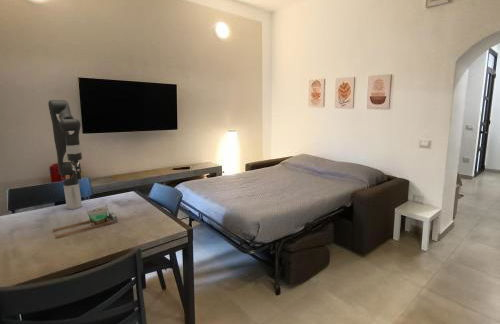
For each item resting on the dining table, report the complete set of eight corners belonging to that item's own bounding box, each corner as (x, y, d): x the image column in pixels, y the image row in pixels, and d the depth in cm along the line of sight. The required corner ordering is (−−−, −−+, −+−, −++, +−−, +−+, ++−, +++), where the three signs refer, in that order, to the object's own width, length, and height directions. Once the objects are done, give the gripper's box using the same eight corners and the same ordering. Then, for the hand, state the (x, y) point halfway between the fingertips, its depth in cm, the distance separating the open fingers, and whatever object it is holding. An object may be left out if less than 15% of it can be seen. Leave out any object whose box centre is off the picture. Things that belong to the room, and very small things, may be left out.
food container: (93, 228, 169) (91, 213, 167) (88, 226, 173) (86, 210, 171) (113, 221, 179) (111, 206, 177) (108, 219, 183) (106, 204, 180)
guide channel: (53, 231, 166) (51, 225, 165) (112, 216, 187) (111, 211, 186) (55, 238, 157) (54, 231, 157) (117, 222, 178) (116, 216, 177)
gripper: (64, 151, 175) (68, 176, 178) (68, 154, 164) (72, 181, 168) (78, 150, 179) (82, 174, 183) (83, 153, 169) (87, 179, 172)
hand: (77, 177), depth 175 cm, fingers open, 8 cm apart
